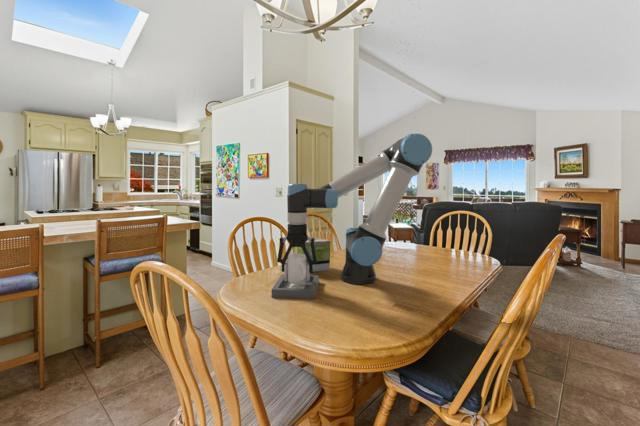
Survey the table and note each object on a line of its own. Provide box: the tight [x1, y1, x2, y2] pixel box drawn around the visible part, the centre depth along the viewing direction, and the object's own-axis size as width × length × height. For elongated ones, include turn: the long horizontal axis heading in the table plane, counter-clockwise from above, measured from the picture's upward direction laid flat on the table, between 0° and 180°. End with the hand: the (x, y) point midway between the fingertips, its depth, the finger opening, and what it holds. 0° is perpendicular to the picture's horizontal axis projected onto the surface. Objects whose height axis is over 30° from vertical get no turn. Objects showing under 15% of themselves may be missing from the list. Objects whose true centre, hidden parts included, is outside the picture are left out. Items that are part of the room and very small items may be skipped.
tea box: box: [293, 237, 331, 273], centre depth 158 cm, size 15×10×15 cm, turn 117°
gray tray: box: [271, 273, 320, 300], centre depth 129 cm, size 16×20×3 cm
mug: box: [286, 253, 308, 284], centre depth 128 cm, size 12×8×10 cm
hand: (297, 279), depth 129 cm, fingers closed on mug, 8 cm apart
